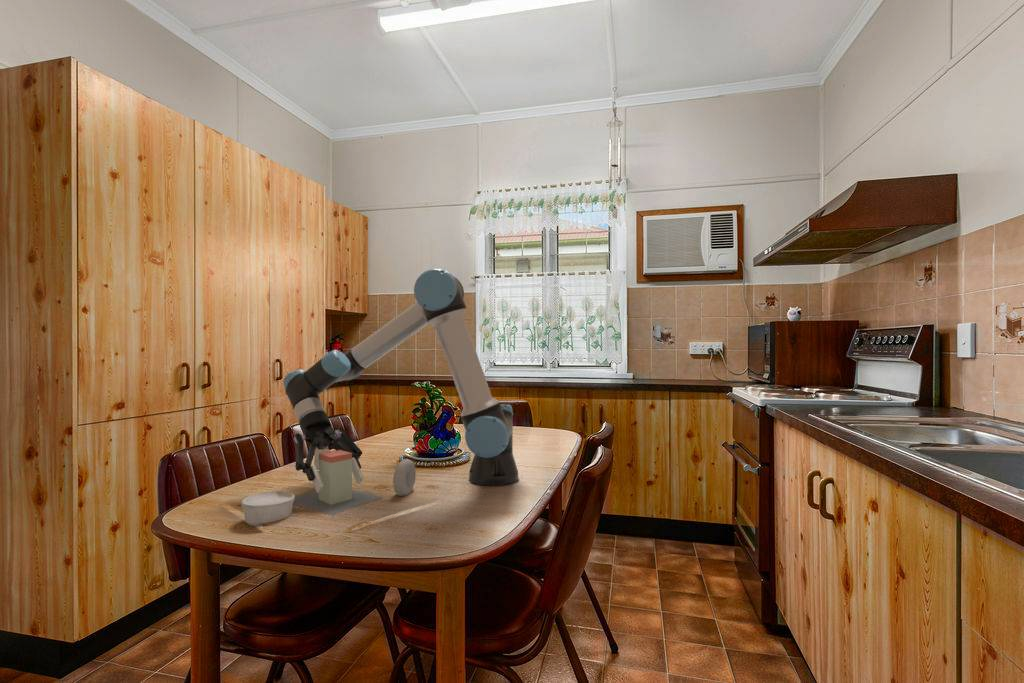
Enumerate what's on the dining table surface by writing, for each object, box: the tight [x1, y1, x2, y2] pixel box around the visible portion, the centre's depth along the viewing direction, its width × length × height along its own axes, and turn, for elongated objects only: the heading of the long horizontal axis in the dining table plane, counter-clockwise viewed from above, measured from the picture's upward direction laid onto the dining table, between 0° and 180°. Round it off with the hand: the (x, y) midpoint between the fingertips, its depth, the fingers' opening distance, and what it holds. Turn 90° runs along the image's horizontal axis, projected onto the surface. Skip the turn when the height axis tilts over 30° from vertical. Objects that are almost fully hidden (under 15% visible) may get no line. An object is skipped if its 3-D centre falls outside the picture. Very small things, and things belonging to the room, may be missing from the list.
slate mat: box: [293, 489, 383, 516], centre depth 130 cm, size 20×16×1 cm
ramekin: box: [241, 490, 296, 528], centre depth 117 cm, size 11×11×5 cm
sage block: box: [318, 450, 353, 505], centre depth 129 cm, size 6×6×12 cm
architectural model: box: [313, 448, 332, 470], centre depth 163 cm, size 3×7×7 cm, turn 82°
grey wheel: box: [392, 458, 417, 497], centre depth 135 cm, size 10×4×10 cm, turn 168°
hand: (341, 485), depth 127 cm, fingers open, 10 cm apart
